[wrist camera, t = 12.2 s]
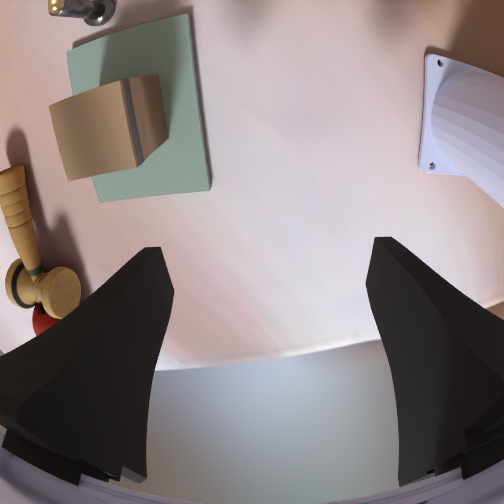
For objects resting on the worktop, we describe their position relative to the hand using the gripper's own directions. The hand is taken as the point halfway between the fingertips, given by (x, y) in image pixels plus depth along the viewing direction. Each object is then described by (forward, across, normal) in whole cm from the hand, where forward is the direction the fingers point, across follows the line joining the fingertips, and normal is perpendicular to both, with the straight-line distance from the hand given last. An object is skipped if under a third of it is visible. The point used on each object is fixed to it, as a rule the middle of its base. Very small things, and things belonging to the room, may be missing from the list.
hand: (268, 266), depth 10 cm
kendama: (+10, +20, +5) cm, 23 cm away
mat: (+9, +8, -4) cm, 13 cm away
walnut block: (+9, +8, -5) cm, 12 cm away
